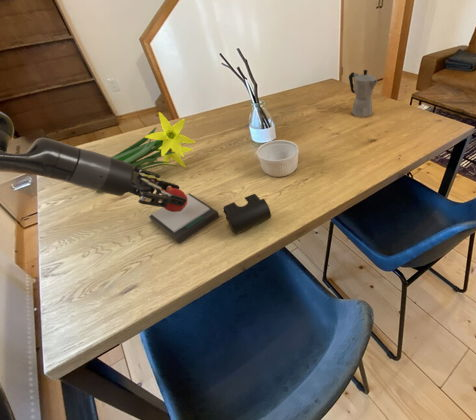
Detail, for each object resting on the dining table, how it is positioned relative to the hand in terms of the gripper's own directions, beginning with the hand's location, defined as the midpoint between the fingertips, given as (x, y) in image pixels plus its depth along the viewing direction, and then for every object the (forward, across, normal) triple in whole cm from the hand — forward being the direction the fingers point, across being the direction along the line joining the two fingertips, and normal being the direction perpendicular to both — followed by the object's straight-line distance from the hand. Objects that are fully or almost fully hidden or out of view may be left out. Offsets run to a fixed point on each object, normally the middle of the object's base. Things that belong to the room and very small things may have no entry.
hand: (180, 195), depth 70 cm
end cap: (+14, -12, -3) cm, 19 cm away
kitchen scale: (+4, 0, +6) cm, 7 cm away
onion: (+2, 0, +4) cm, 5 cm away
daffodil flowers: (+1, +27, +9) cm, 29 cm away
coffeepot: (+63, +24, -53) cm, 86 cm away
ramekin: (+27, +6, -17) cm, 33 cm away
